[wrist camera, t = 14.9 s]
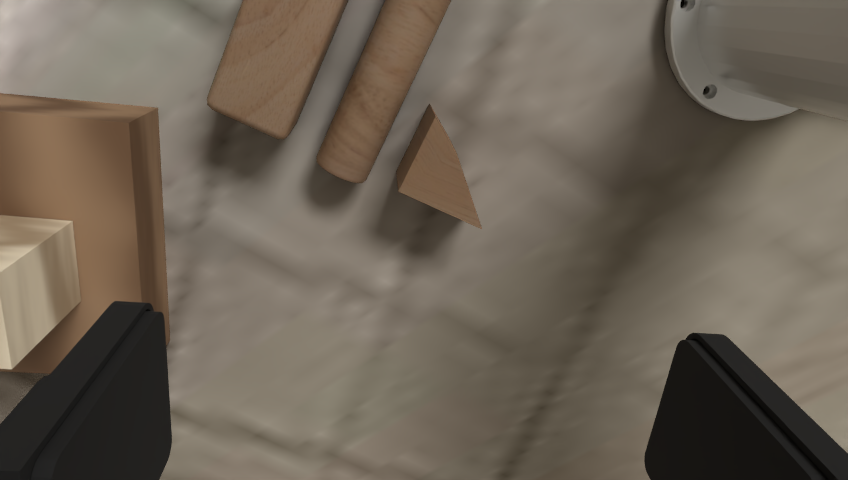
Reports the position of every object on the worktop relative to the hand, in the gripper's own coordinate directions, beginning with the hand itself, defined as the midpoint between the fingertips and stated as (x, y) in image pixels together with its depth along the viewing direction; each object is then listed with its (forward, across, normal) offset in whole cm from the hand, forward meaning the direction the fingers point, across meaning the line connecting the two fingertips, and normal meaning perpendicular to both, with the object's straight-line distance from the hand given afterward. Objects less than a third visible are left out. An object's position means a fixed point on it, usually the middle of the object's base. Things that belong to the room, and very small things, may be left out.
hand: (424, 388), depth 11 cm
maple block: (+24, +20, +9) cm, 32 cm away
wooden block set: (+29, -1, -5) cm, 29 cm away
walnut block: (+29, +20, +9) cm, 36 cm away
